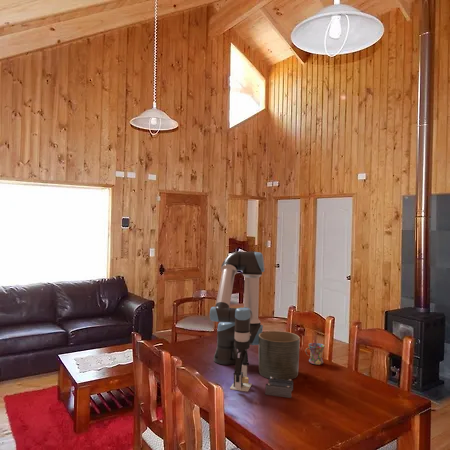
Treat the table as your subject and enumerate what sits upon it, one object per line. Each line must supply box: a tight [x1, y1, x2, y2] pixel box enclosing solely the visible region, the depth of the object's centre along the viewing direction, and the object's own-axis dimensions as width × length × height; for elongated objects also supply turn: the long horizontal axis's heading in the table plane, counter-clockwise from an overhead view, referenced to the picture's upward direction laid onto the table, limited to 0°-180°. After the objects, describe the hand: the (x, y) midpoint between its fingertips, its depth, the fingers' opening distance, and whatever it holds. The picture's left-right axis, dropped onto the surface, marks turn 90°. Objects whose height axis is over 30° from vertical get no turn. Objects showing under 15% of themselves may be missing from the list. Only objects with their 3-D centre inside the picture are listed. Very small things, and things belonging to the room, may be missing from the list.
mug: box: [304, 342, 325, 366], centre depth 232 cm, size 12×9×11 cm
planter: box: [258, 330, 301, 380], centre depth 215 cm, size 22×22×20 cm
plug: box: [233, 371, 250, 387], centre depth 194 cm, size 7×4×6 cm, turn 77°
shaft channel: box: [264, 377, 294, 399], centre depth 189 cm, size 12×10×5 cm
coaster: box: [229, 382, 252, 393], centre depth 195 cm, size 9×9×1 cm
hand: (241, 383), depth 195 cm, fingers open, 13 cm apart
